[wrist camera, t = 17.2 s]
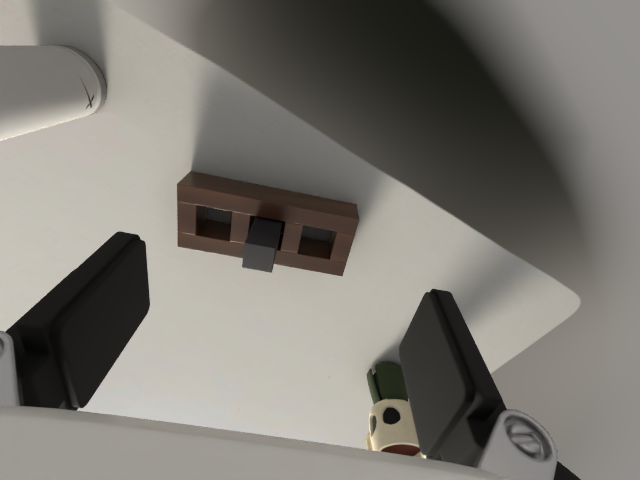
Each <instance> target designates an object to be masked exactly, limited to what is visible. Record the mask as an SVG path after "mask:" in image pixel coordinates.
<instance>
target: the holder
mask: <svg viewBox="0 0 640 480" xmlns="http://www.w3.org/2000/svg"><path fill="white" fill-rule="evenodd" d="M177 205H178V247H182V248H188V249H193V250H199V251H205V252H210V253H216V254H221V255H227V256H232V257H238V258H243V255H244V246H245V241H246V239H247V236H248V234H249V231H250V229H251V227H252V224H253V222H254V219H255V216H258V217H264V218H269V219H274V220H279V221H285V227H284V233H283V234H281V236H280V240H279V244H278V248H277V253H276V257H275V261H274V264H277V265H283V266H288V267H294V268H299V269H305V270H310V271H316V272H322V273H327V274H333V275H338V276H343V272H344V269H345V266H346V262H347V259H348V256H349V252H350V249H351V246H352V242H353V239H354V236H355V232H356V229H357V226H358V222H359V215H358V210H357V205H356V204H352V203H347V202H342V201H337V200H332V199H327V198H322V197H317V196H312V195H307V194H302V193H297V192H292V191H287V190H282V189H277V188H272V187H267V186H262V185H257V184H252V183H247V182H242V181H237V180H232V179H227V178H222V177H217V176H212V175H207V174H202V173H197V172H192V171H191V172H189V173H188V174H187V175H186V176H185V177H184V178H183V179H182V180H181V181H180V182H179V183H178V184H177ZM207 207H211V208H217V209H222V210H227V211H232V220H231V224H228V223H223V222H217V221H212V220H207V219H206V217H207ZM303 225H305V226H311V227H316V228H321V229H326V230H332V235H331V239H330V243H329V242H324V241H319V240H313V239H308V238H303V237H301V234H302V230H303Z"/></svg>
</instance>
